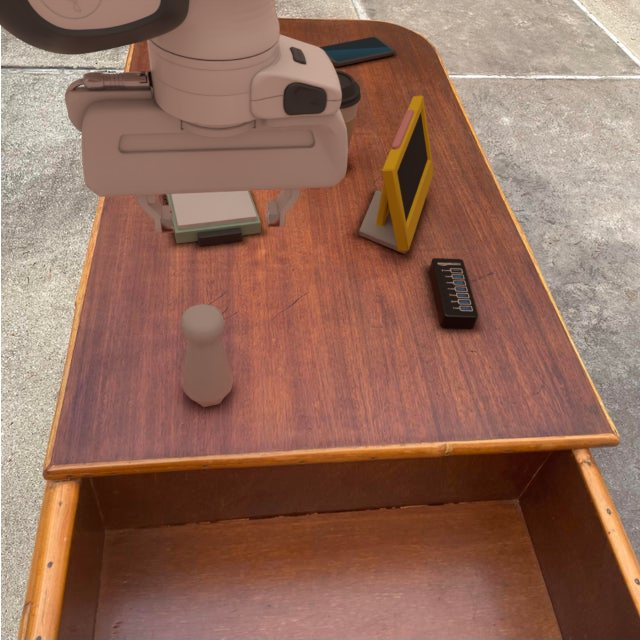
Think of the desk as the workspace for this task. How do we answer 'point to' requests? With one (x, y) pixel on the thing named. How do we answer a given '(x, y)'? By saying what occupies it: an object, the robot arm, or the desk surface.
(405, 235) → the toy computer monitor
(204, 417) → the desk surface
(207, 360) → the salt shaker
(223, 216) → the scale
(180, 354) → the desk surface
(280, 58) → the robot arm
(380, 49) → the smartphone
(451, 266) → the multiport hub
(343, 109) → the coffee cup
